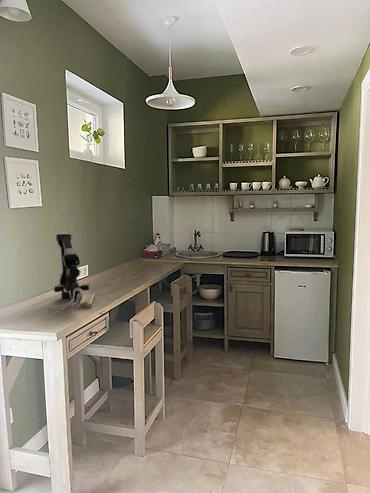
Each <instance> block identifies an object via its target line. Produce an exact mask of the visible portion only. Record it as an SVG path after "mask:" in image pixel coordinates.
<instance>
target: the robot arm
mask: <svg viewBox="0 0 370 493" xmlns="http://www.w3.org/2000/svg"><path fill="white" fill-rule="evenodd" d="M55 240H56V242H57V246H58V247H59V248H60V257H61V259H60V260H61V267H62V269H61V270H62V271H61V273H60V276H59V281H58V285H55V286H54V287H53V292H54V293H60V292H61V293H60V294H61V300H64V299H65V300H66V299H68V300H69V302H70V301H71V300H73V299H74V303H73V304H75V303H77V302H76V299H77V295H78V293H79V292H82V291H89V290H90V289H91V285H90V284H89V283H83V284H81V285H80V284H79V283H80V282H79V281H78V277H80V273H81V271H80V269H79V268H78V266H80V263H81V262H80V261H81V260H80V257H79V255H78V254H77V251H76V250H74V249H73V246H72V234H71V233H69V232H61V233H60V232H58V233H57V234H56V235H55Z"/></svg>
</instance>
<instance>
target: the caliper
mask: <svg viewBox="0 0 370 493" xmlns="http://www.w3.org/2000/svg"><path fill="white" fill-rule="evenodd" d="M82 298H83V293H82V291H80V292H79V293H78V295H77V299H76V302H75V303H77V302H78V303H80V302H81V300H82ZM75 303H74V298H72V300H71V301H70V300H69V302H68V303H67V304H65V305H63V307H62V308H61V309H60V311H64V310H67V309H68V308H69V307H71V305H73V304H75Z"/></svg>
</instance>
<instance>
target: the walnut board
mask: <svg viewBox="0 0 370 493" xmlns="http://www.w3.org/2000/svg"><path fill="white" fill-rule="evenodd" d="M95 299H96V294H84V295H82V300H81V301H80V302H79V304H78V309H92V307H93V304H94V302H95Z"/></svg>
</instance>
